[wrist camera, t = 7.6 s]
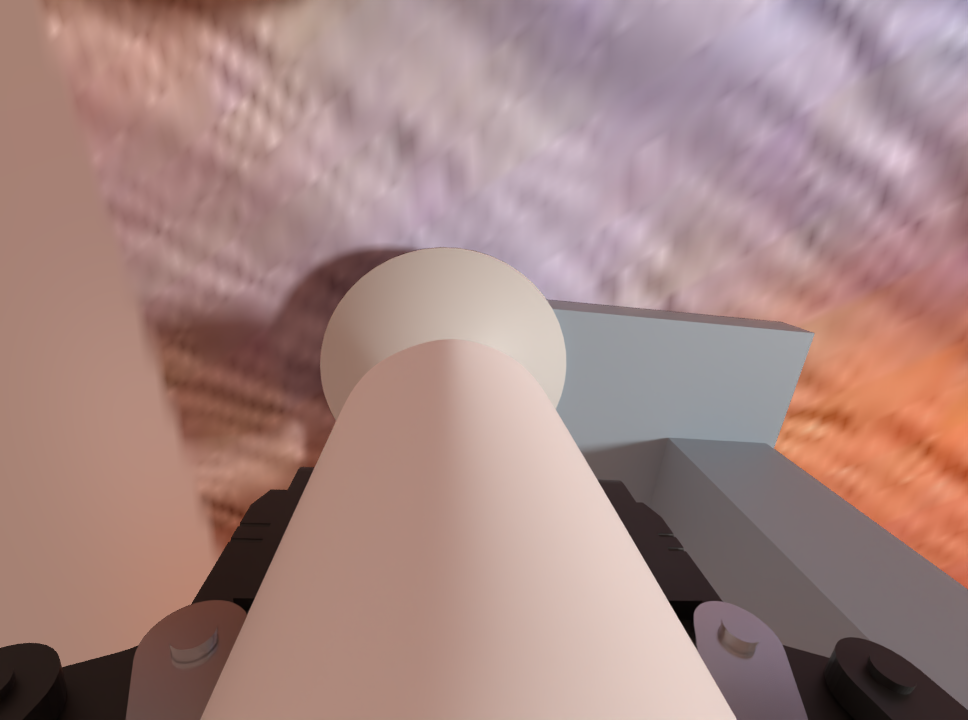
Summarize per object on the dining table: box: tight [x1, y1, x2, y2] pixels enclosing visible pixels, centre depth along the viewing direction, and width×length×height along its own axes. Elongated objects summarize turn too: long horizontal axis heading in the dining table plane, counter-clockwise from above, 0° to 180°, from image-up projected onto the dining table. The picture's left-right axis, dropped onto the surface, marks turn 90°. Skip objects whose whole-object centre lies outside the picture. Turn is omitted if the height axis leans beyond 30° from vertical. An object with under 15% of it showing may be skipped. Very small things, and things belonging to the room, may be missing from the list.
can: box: [200, 339, 737, 720], centre depth 8 cm, size 6×6×12 cm
